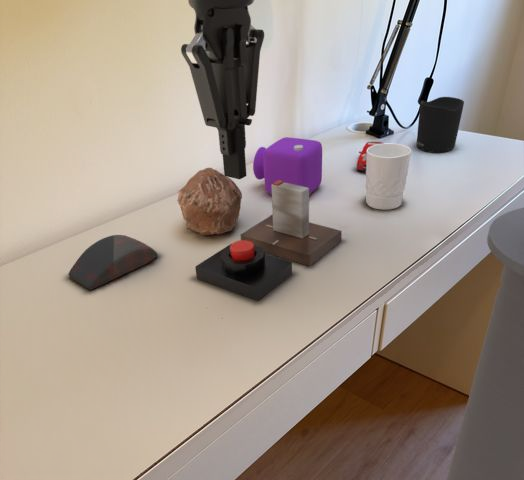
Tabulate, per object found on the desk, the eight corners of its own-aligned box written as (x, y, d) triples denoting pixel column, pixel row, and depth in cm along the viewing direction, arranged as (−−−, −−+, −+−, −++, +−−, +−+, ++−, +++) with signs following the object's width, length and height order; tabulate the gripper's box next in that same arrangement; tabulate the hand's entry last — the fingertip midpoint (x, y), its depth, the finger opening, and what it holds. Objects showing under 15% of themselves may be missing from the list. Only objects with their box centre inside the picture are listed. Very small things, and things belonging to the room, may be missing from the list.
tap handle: (309, 234, 88) (309, 186, 83) (302, 238, 87) (302, 190, 82) (279, 226, 91) (278, 179, 86) (273, 230, 90) (271, 183, 85)
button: (259, 254, 80) (258, 243, 79) (244, 264, 78) (244, 253, 77) (240, 248, 82) (240, 238, 81) (226, 258, 80) (225, 247, 79)
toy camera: (262, 178, 115) (260, 130, 108) (324, 182, 111) (325, 133, 105) (246, 197, 107) (243, 147, 100) (312, 203, 103) (312, 151, 97)
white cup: (376, 214, 97) (381, 160, 91) (355, 199, 103) (358, 147, 97) (413, 206, 100) (420, 152, 93) (389, 191, 105) (395, 140, 99)
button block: (292, 274, 82) (292, 251, 80) (257, 301, 77) (256, 277, 74) (232, 255, 88) (230, 233, 86) (196, 278, 83) (193, 256, 80)
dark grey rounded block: (163, 259, 88) (159, 237, 86) (92, 293, 81) (86, 270, 78) (135, 245, 93) (130, 224, 90) (66, 276, 85) (58, 254, 83)
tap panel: (341, 241, 90) (342, 229, 89) (309, 266, 84) (309, 254, 82) (275, 223, 97) (274, 212, 96) (240, 245, 91) (239, 233, 89)
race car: (379, 175, 113) (381, 156, 110) (354, 173, 114) (355, 155, 112) (387, 154, 122) (389, 136, 120) (364, 153, 124) (365, 135, 121)
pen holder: (416, 140, 129) (422, 96, 123) (456, 141, 127) (464, 97, 121) (412, 152, 123) (418, 106, 116) (455, 154, 120) (463, 108, 114)
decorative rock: (192, 211, 103) (185, 159, 97) (249, 212, 101) (245, 160, 95) (173, 242, 93) (164, 187, 87) (235, 244, 91) (230, 188, 85)
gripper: (229, -40, 64) (243, 157, 78) (151, -31, 56) (183, 186, 70) (280, -41, 60) (284, 166, 75) (205, -32, 52) (226, 197, 67)
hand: (235, 175), depth 72 cm, fingers closed
